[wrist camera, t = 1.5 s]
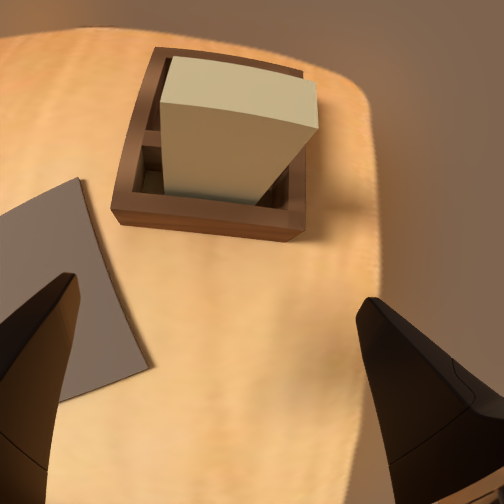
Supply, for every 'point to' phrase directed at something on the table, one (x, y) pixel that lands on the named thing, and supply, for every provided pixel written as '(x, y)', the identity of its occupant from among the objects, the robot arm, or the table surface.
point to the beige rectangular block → (231, 128)
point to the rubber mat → (89, 279)
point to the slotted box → (191, 209)
